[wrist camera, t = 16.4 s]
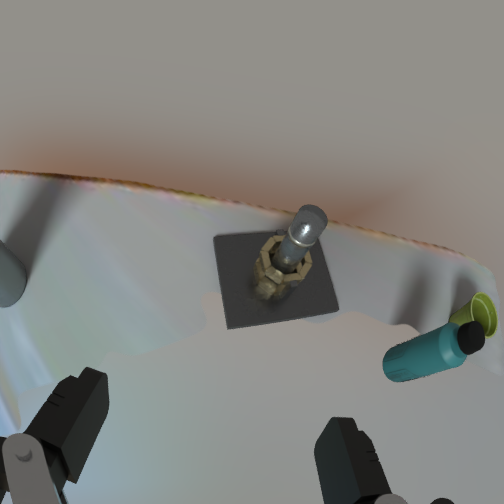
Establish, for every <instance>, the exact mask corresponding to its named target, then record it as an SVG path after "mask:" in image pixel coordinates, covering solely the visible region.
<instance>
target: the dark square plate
mask: <svg viewBox="0 0 504 504" xmlns="http://www.w3.org/2000/svg"><path fill="white" fill-rule="evenodd" d="M286 233H287V231H286V232H284V231H283V230H277V231H276V232H272V233H258V234H244V235H231V236H218V237H214V238H213V242H214V249H215V256H216V262H217V269H218V275H219V282H220V288H221V294H222V300H223V306H224V312H225V318H226V324H227V329H235V328H243V327H250V326H257V325H263V324H270V323H276V322H282V321H289V320H295V319H300V318H306V317H312V316H317V315H323V314H328V313H333V312H337V311H338V310H339V307H338V303H337V299H336V296H335V292H334V289H333V286H332V282H331V279H330V276H329V272H328V269H327V266H326V262H325V259H324V256H323V253H322V250H321V246H320V243H319V240H318V239H317V240H316V242H315V243H314V245H313V246H312V247H311V248H310V249H309V251H308V252H307V253H306V255H305V256H304V258H303V259H302V260H301V262H300V263H299V264H298V266H297V267H296V268H295V270H294V271H293V272H292V274H286V275H284V274H283V273H281V272H280V271H278V270H277V269H275V268H274V267H272V266H271V260H272V258H273V257H274V255H275V253H276V251H277V249H278V248H279V246H280V244H281V242H282V240H283V238H284V237H285V235H286ZM266 276H267V277H269V278H270V279H272V280H273V281H274V282H276V283H277V284H280V283H281V285H277V284H275V283H274V282H272V281H271V280H269V279H268V278H267V277H266Z"/></svg>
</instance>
